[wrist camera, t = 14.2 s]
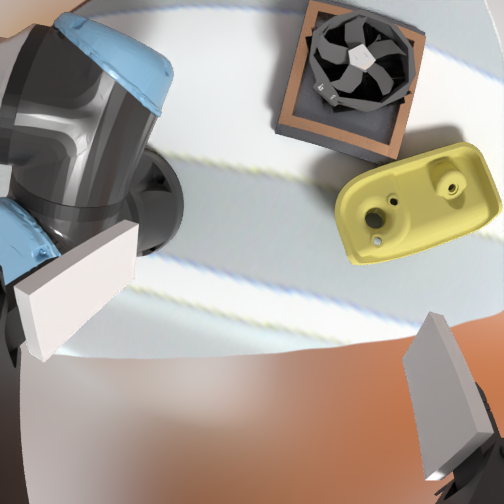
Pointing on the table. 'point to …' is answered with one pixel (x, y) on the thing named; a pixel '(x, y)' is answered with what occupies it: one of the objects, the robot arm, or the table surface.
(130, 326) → the table surface
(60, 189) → the robot arm
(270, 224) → the table surface
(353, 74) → the cpu cooler
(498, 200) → the plastic component
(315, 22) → the board
